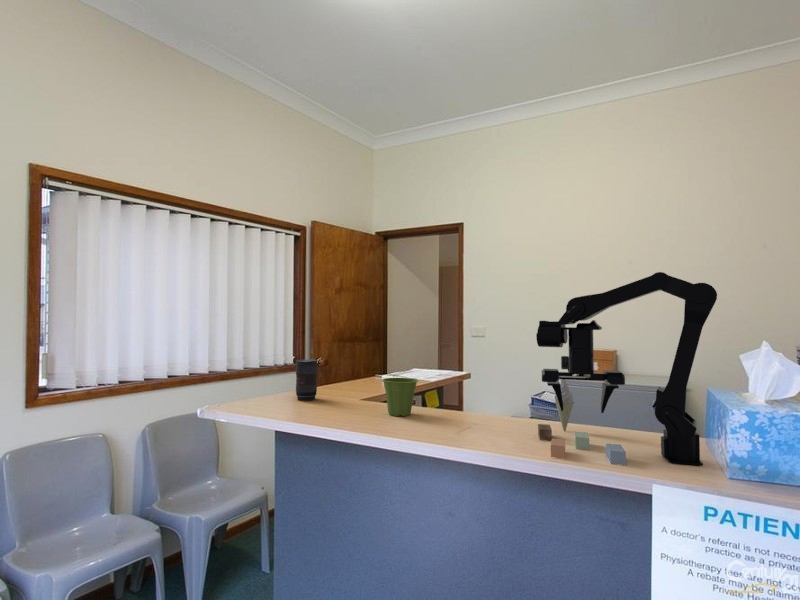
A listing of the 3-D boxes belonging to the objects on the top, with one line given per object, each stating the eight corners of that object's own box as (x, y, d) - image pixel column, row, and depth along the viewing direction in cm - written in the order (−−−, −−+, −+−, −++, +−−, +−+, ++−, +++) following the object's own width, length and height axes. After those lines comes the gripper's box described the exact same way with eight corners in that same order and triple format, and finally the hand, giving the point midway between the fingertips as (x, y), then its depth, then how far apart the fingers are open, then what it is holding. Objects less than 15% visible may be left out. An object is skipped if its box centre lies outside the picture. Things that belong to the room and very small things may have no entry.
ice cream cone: (551, 429, 129) (550, 376, 130) (565, 428, 131) (565, 375, 132) (563, 433, 124) (562, 378, 125) (578, 432, 126) (577, 377, 127)
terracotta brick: (565, 452, 108) (565, 439, 108) (564, 459, 102) (564, 446, 102) (551, 451, 109) (551, 438, 109) (550, 458, 103) (550, 444, 103)
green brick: (587, 444, 115) (587, 432, 115) (589, 450, 109) (589, 438, 109) (574, 443, 116) (574, 431, 116) (575, 449, 110) (575, 437, 110)
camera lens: (291, 400, 173) (292, 360, 174) (302, 397, 181) (302, 359, 182) (310, 401, 171) (311, 361, 172) (320, 398, 179) (321, 359, 179)
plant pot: (413, 419, 142) (413, 382, 142) (376, 416, 145) (377, 381, 145) (421, 412, 153) (421, 378, 154) (387, 409, 156) (388, 376, 157)
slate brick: (620, 457, 104) (620, 444, 104) (625, 466, 98) (625, 451, 98) (606, 456, 104) (606, 443, 105) (610, 464, 99) (610, 450, 99)
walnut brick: (549, 435, 123) (549, 424, 123) (551, 441, 117) (551, 429, 117) (538, 435, 124) (538, 424, 124) (539, 440, 118) (539, 429, 118)
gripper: (616, 347, 119) (617, 407, 118) (540, 345, 124) (541, 404, 123) (624, 349, 108) (626, 416, 107) (541, 348, 113) (542, 412, 112)
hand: (581, 411), depth 113 cm, fingers open, 9 cm apart
